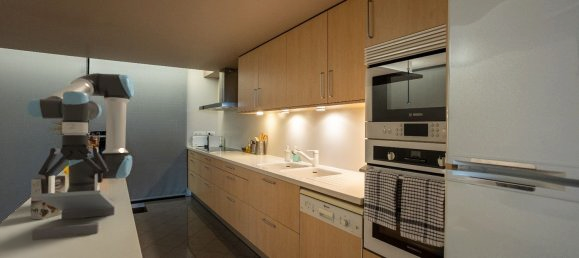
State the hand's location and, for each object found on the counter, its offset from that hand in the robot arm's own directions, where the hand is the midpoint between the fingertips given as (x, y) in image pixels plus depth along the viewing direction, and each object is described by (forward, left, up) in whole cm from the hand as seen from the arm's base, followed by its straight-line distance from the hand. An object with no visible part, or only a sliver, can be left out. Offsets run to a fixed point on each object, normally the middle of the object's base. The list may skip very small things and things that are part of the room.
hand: (74, 193), depth 99 cm
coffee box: (-21, -16, -13) cm, 30 cm away
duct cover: (-5, 0, -5) cm, 7 cm away
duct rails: (-4, 0, -13) cm, 13 cm away
